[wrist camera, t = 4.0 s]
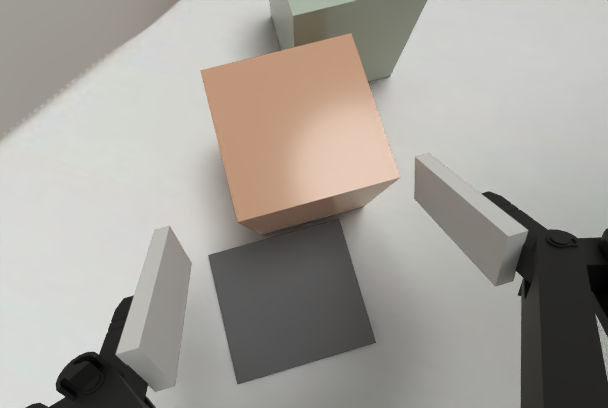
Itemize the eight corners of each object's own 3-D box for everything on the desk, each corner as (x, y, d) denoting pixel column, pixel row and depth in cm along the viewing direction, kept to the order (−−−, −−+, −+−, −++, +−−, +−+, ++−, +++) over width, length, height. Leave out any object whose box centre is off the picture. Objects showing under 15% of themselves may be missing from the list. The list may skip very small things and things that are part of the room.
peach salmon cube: (334, 111, 28) (351, 33, 18) (363, 206, 26) (400, 177, 17) (237, 137, 27) (200, 70, 18) (262, 234, 26) (237, 222, 16)
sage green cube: (361, -7, 30) (390, -135, 20) (390, 75, 29) (436, -20, 19) (271, 15, 29) (255, -105, 20) (296, 100, 28) (292, 15, 18)
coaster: (337, 219, 26) (338, 218, 25) (373, 339, 25) (375, 342, 24) (211, 255, 26) (208, 255, 25) (239, 380, 24) (237, 384, 23)
